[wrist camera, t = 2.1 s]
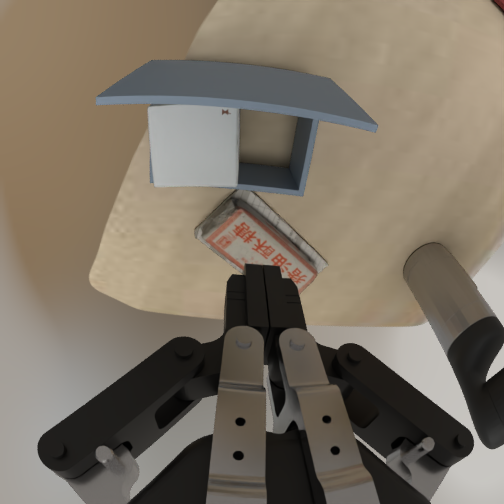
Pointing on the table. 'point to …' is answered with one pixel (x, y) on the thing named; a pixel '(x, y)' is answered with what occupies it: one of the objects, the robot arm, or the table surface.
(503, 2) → the red wedge
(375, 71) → the table surface
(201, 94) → the lid
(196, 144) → the supplement box
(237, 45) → the table surface
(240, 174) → the open blue-gray box
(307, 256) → the packaged product
